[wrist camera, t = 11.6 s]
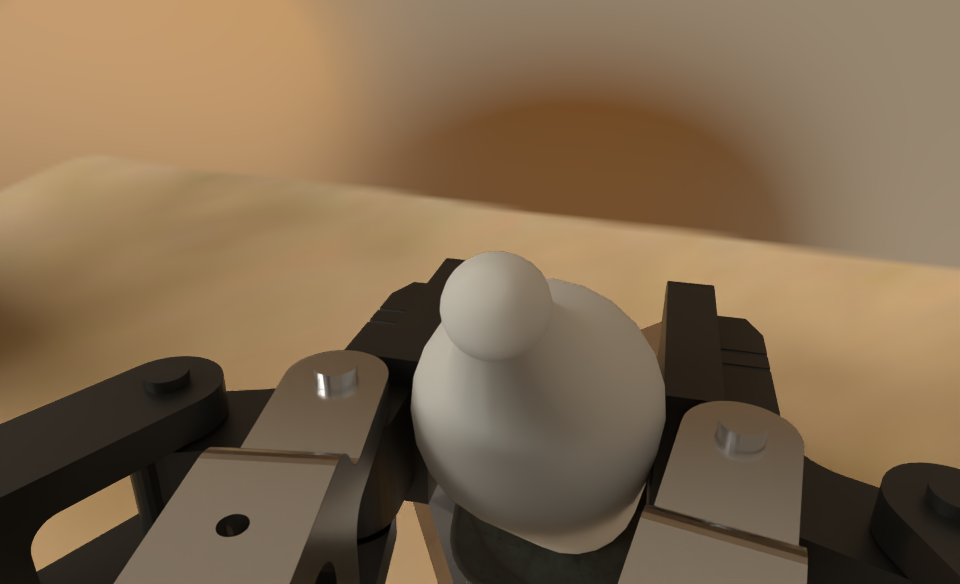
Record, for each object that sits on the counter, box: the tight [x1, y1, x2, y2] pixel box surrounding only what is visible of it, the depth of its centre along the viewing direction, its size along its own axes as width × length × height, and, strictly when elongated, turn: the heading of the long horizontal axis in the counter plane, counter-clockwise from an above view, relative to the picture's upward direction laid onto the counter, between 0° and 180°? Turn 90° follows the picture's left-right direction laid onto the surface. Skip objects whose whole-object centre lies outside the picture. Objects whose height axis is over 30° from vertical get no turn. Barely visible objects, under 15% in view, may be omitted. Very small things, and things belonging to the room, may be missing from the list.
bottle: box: [411, 251, 666, 584], centre depth 17 cm, size 5×5×25 cm
